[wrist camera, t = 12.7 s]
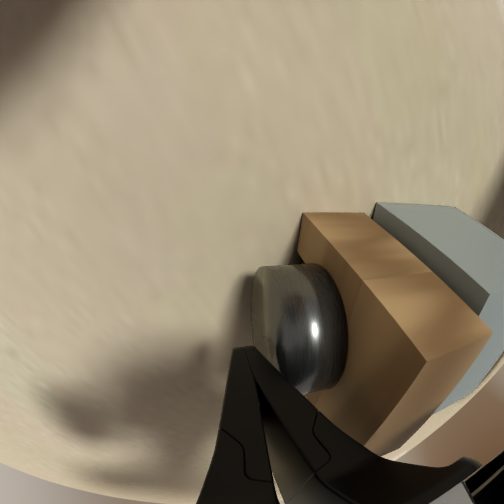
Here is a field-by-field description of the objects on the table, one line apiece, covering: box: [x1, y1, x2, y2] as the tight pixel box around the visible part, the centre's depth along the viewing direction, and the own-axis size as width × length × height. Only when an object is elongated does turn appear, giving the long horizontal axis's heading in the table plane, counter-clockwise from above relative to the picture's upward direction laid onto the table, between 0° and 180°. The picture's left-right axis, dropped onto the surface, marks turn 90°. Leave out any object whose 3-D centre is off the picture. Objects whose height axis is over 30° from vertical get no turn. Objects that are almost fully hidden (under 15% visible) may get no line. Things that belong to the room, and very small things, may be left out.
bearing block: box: [373, 202, 504, 415], centre depth 13 cm, size 6×8×7 cm
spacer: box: [297, 213, 493, 456], centre depth 11 cm, size 3×7×8 cm, turn 176°
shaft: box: [251, 263, 348, 395], centre depth 12 cm, size 13×5×5 cm, turn 86°
